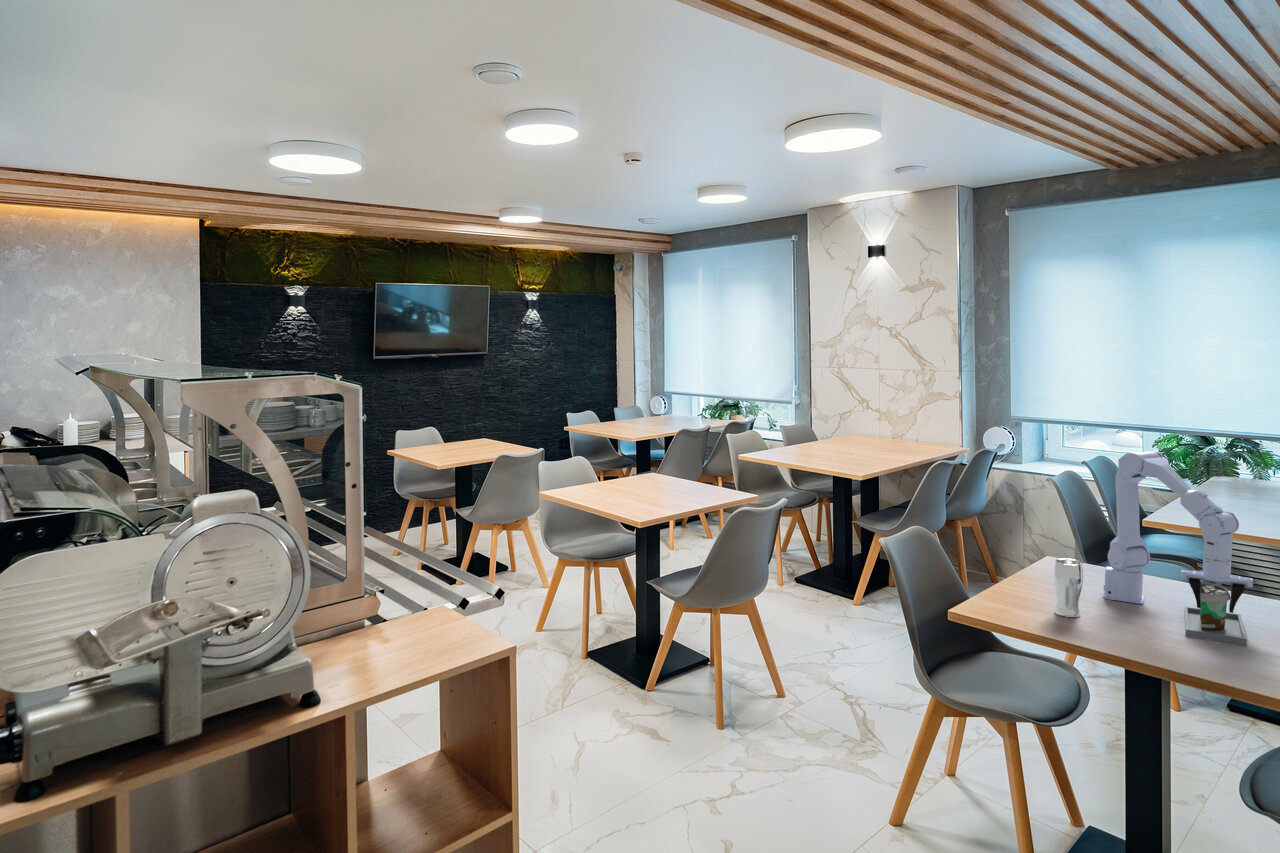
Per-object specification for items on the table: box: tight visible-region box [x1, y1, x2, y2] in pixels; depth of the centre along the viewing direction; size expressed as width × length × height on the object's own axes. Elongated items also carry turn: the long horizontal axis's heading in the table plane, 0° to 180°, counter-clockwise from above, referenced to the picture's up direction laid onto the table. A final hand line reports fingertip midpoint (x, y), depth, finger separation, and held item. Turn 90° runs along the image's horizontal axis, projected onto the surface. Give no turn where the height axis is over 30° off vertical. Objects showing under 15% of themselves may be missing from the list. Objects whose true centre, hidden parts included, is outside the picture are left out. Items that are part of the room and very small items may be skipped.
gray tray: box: [1184, 606, 1248, 646], centre depth 191 cm, size 12×20×2 cm, turn 144°
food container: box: [1199, 581, 1231, 631], centre depth 191 cm, size 12×6×10 cm, turn 144°
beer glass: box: [1053, 558, 1084, 618], centre depth 203 cm, size 7×7×15 cm
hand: (1214, 609), depth 191 cm, fingers closed on food container, 6 cm apart
